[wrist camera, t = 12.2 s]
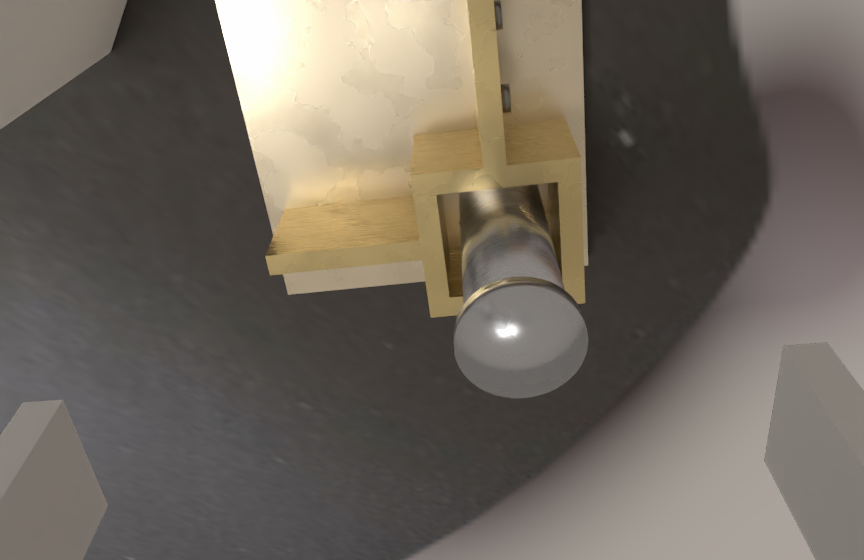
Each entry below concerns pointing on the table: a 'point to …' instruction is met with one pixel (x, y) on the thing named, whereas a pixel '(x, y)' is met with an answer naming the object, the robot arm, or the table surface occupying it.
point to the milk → (50, 46)
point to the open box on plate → (407, 131)
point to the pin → (514, 298)
